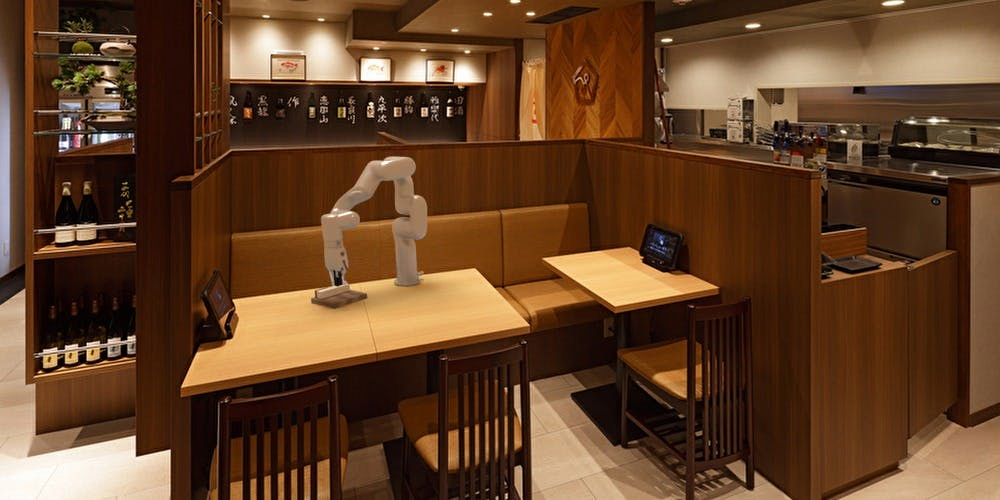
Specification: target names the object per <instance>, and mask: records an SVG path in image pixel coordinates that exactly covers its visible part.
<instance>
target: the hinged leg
mask: <svg viewBox="0 0 1000 500" xmlns="http://www.w3.org/2000/svg"><path fill="white" fill-rule="evenodd" d="M328 287H329V286H328ZM321 289H322V288H321ZM350 290H351V289H350V283H348V282H347V280H344V281H343V285H341V286H338V287H337V286H333V287H332V286H331V287H329V288H326V289H322V290H319V291H317V298H320V299H323V298H327V297H330V296H333V295H337V294H340V293H343V292H347V291H350Z"/></svg>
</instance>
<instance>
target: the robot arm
mask: <svg viewBox="0 0 1000 500" xmlns="http://www.w3.org/2000/svg"><path fill="white" fill-rule="evenodd" d="M416 168H417V165H416V163H415V160H414V159H413V158H411V157H407V156H387V157H385V158H383V160H372V161H370V162H368V163H367V164H366V166H365V168H364V169H363V170H362V172H361V174H360V176H359V178H358V180H357V181H356V183H355V185H354V186H353V187H352V188H350V189H349V190H348V191H347V192H346V193H344V194H343V195H342V196H340V198H339V199H338V200H337V201H336V203H335V204H334V206H333V208H332V209H331V211H330V213H326V214H323V215H322V216H321V218H320V223H321V230H322V236H323V237H322V238H323V243H324V244H323V245H324V249H323V250H324V251H323V252H324V254H323V256H324V263H325V264H324V265H325V268H326V269H327V271H328V272H329V271H330V272H331V273H332V276H333V278H334V286H337V287H338V286H341V285H343V281H342V276H343V274H344V275H346V274H347V270H348V269H349V266H350V265H349V260H348V254H347V251H346V250H347V249H346V248H345V246H344V241H343V233H342V231H343V230H352V229H355V228H358V226H359V224H360V221H361V219H360V215H359V214H358V212H355V211H351V210H352V209H353V208H354V207H355V206H356V205H359V204H360V203H363V202H366V201H367V200H370V199H371V198H372V197H373V195H374V194H375V192H376V190H377V189H378V186H379V185H380V184H381V182H382V181H388V182H390V181H393V184H394V189H395V190H394V205H395V206H394V208H395V211H396V212H397V213H398V214H401V215H405V217H404V216H401V217H397V218H395V219H394V221H393V222H392V226H391V231H392V234H393V235H392V236H393V240H394V246H395V248H394V249H395V262H396V263H395V265H396V266H395V267H396V279H395V280H393V284H394V285H396V286H400V287H411V286H416V285H419V284H420V283H421V282H422V280H421V278H420V277H421V276H423V275H424V274H425V273H424V271H423V270H422V271H418V267H417V266H418V264H417V250H416V249H417V247H416V242H415V240H421V239H423V238H424V237H425V236H426V235H427V232H428V231H427V230H428V205H427V201H426V200H425V198H424V197H423V196H421V195H417V194H414V193H415V191H414V189H415V188H414V181H413V178H412V177H411V176H413V174H414V173H415V172H416ZM406 216H409V217H406Z"/></svg>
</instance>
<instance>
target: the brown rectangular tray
mask: <svg viewBox="0 0 1000 500" xmlns="http://www.w3.org/2000/svg"><path fill="white" fill-rule="evenodd" d="M329 287H332V285H329V286H326V287H325V286H324V287H322V288H319V289H316V290H315V289H314V297H311V298H310V300H311V301H310V302H311V304H314V305H318V306H322V307H326V308H330V309H334V310H335V309H337V308H341V307H344V306H346V305H349V304H353V303H356V302H358V301H362V300H365V299H368V293H367V292H363V291H359V290H353V289H350V291H347V292H343V293H340V294H337V295H333V296H330V297H327V298H323V299H320V298H317V291H319V290H322V289H326V288H329Z"/></svg>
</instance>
